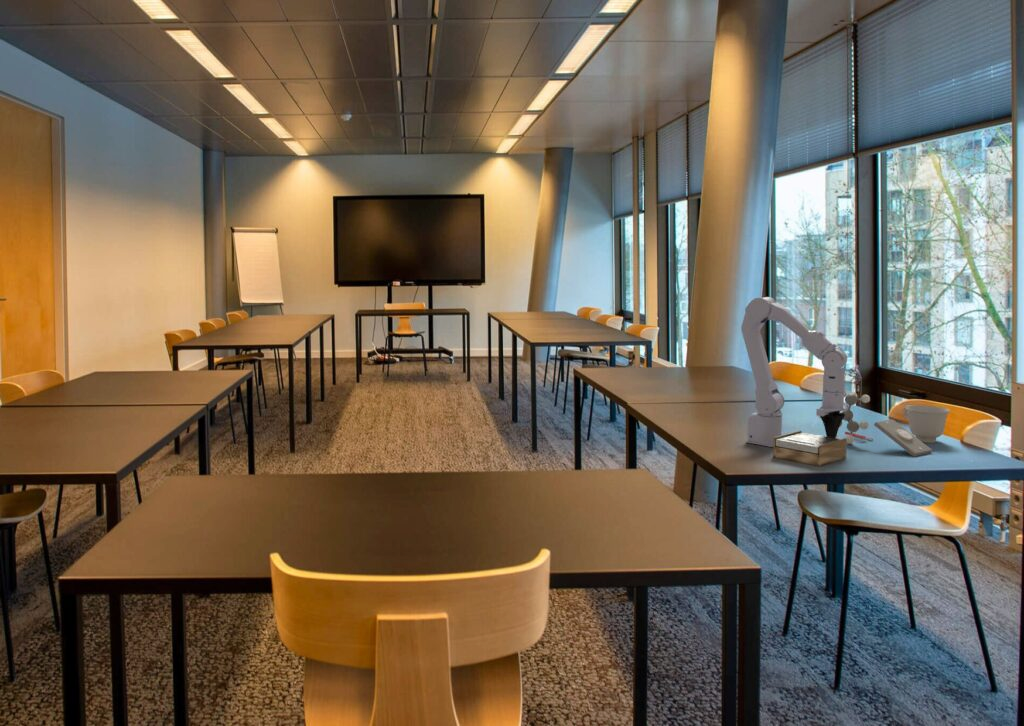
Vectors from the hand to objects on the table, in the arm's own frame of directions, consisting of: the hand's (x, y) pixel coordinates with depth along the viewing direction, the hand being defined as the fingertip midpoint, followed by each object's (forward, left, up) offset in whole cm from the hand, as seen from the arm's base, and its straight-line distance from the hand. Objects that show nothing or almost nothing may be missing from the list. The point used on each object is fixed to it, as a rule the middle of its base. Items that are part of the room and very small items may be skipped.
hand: (831, 437), depth 225 cm
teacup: (+11, +35, -4) cm, 37 cm away
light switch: (+13, +16, -4) cm, 21 cm away
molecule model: (-4, +19, -4) cm, 20 cm away
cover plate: (0, -12, -1) cm, 12 cm away
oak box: (0, -12, -4) cm, 13 cm away
